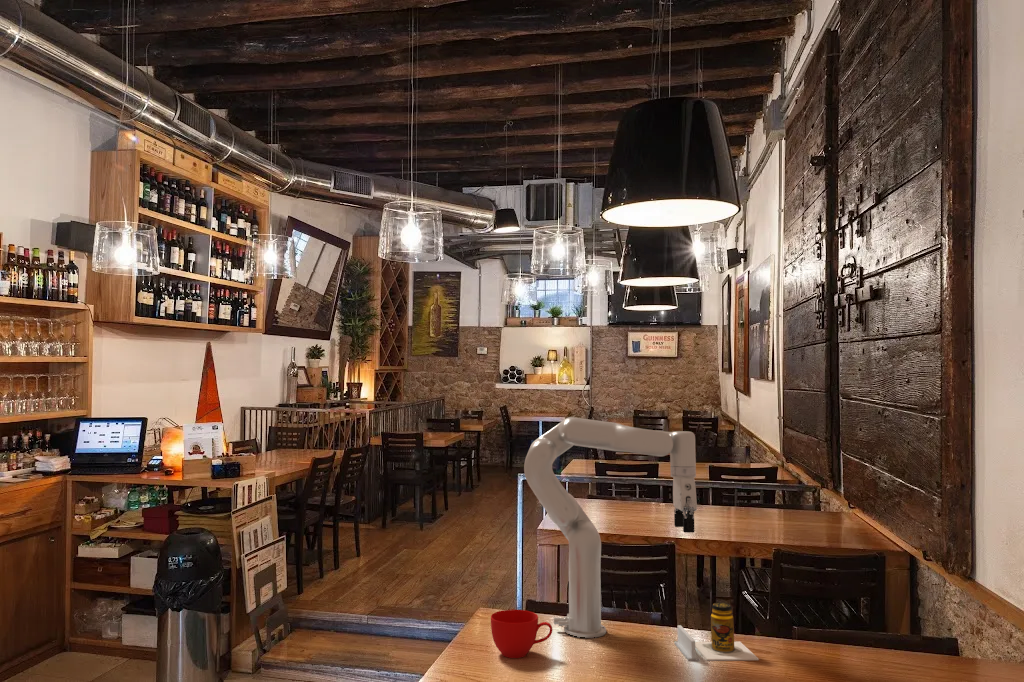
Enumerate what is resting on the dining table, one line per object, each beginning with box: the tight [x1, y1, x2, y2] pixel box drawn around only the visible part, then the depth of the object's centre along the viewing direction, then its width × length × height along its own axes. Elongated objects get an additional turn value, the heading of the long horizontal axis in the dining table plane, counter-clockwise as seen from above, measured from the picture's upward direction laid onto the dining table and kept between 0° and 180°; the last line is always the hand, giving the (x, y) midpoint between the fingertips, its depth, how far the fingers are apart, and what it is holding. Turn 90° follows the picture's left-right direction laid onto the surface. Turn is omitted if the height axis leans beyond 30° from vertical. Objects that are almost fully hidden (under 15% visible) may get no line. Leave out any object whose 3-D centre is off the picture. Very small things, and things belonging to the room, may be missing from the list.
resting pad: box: [695, 641, 760, 662], centre depth 196 cm, size 14×14×1 cm
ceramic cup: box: [490, 609, 553, 659], centre depth 193 cm, size 13×17×10 cm
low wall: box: [673, 624, 700, 662], centre depth 195 cm, size 3×14×5 cm, turn 2°
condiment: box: [702, 602, 741, 654], centre depth 197 cm, size 7×8×12 cm
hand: (684, 529), depth 214 cm, fingers open, 9 cm apart
